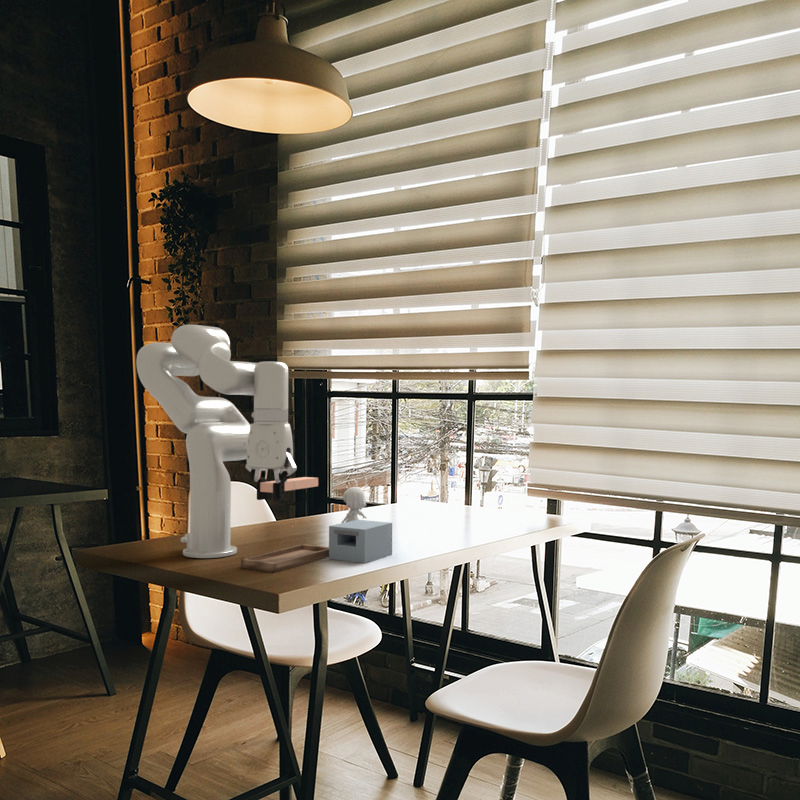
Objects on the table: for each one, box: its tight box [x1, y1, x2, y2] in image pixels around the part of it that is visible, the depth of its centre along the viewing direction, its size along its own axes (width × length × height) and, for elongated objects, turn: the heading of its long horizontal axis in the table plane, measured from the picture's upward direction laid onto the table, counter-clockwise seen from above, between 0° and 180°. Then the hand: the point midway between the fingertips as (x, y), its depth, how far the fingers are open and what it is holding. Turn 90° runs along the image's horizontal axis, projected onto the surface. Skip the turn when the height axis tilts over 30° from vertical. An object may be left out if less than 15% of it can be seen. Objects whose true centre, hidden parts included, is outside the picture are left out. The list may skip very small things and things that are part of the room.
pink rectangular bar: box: [260, 476, 319, 494], centre depth 166 cm, size 4×16×2 cm, turn 150°
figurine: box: [341, 486, 367, 523], centre depth 187 cm, size 10×6×15 cm, turn 146°
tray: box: [240, 543, 329, 573], centre depth 166 cm, size 10×22×2 cm, turn 150°
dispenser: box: [328, 519, 393, 564], centre depth 171 cm, size 10×12×8 cm
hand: (270, 499), depth 160 cm, fingers closed on pink rectangular bar, 4 cm apart
